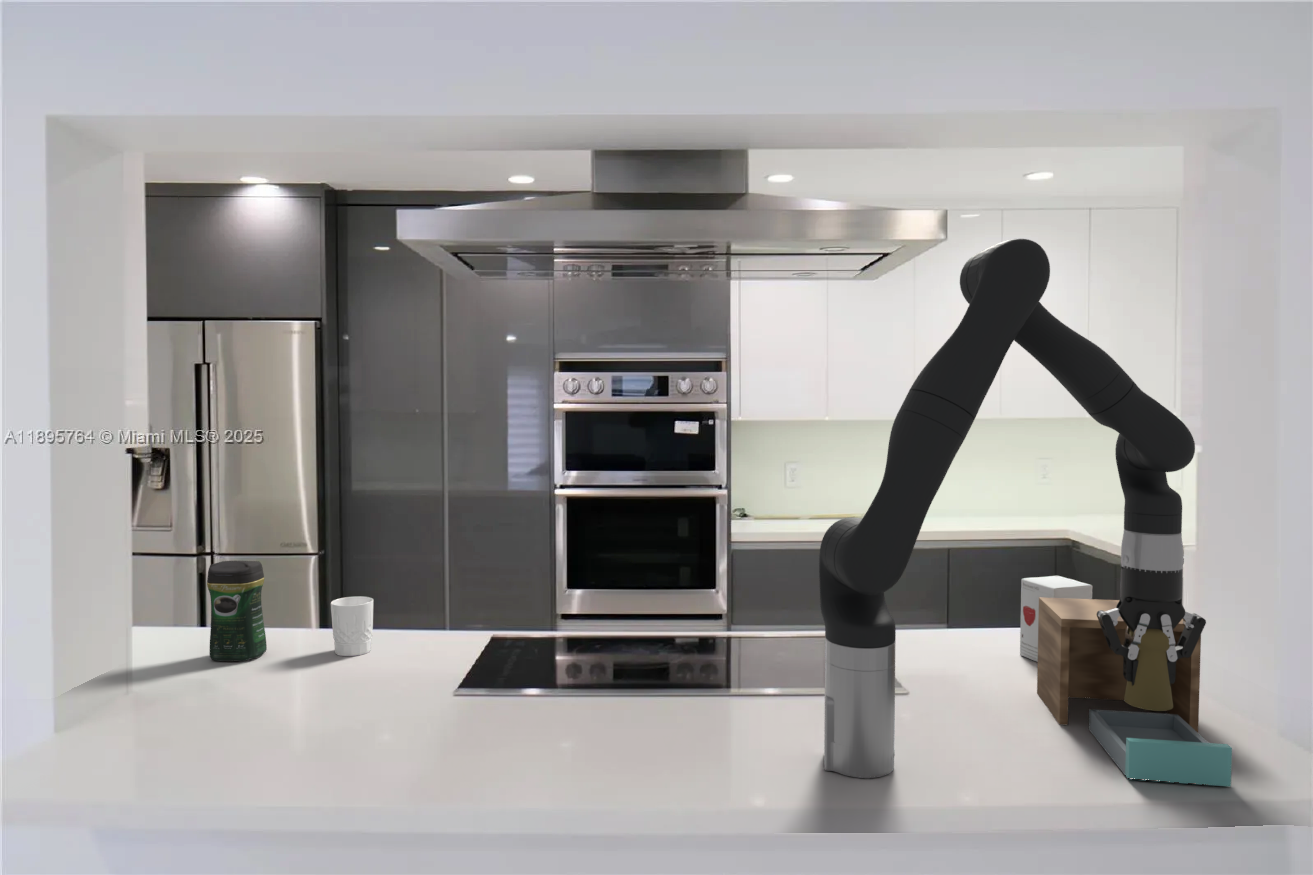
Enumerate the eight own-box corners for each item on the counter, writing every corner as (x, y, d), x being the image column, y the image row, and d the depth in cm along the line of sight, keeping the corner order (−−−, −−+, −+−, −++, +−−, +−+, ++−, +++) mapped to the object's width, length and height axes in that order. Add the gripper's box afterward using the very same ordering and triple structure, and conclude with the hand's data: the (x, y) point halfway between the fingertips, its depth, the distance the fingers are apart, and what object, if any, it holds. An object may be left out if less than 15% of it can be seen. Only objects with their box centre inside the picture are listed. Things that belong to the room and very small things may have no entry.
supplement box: (1017, 655, 168) (1019, 577, 167) (1056, 650, 171) (1057, 574, 170) (1052, 669, 160) (1054, 587, 159) (1092, 664, 162) (1094, 584, 161)
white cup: (361, 658, 167) (359, 606, 167) (323, 656, 169) (322, 604, 168) (382, 646, 175) (380, 597, 175) (345, 644, 177) (344, 595, 176)
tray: (1128, 779, 114) (1129, 741, 113) (1088, 729, 131) (1089, 695, 130) (1230, 786, 111) (1232, 748, 111) (1176, 734, 128) (1177, 700, 128)
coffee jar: (273, 651, 172) (270, 557, 171) (251, 663, 164) (248, 565, 163) (226, 650, 173) (223, 556, 172) (202, 662, 165) (199, 564, 164)
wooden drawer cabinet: (1059, 724, 133) (1061, 618, 132) (1036, 693, 147) (1038, 597, 146) (1198, 733, 130) (1201, 624, 129) (1162, 700, 143) (1164, 601, 143)
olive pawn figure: (1183, 710, 120) (1185, 631, 120) (1139, 711, 120) (1141, 632, 120) (1156, 695, 127) (1158, 619, 126) (1115, 696, 126) (1116, 620, 126)
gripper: (1196, 559, 125) (1192, 679, 126) (1088, 556, 127) (1086, 673, 128) (1219, 570, 117) (1216, 697, 118) (1105, 567, 120) (1102, 691, 121)
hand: (1148, 684), depth 123 cm, fingers closed on olive pawn figure, 3 cm apart
